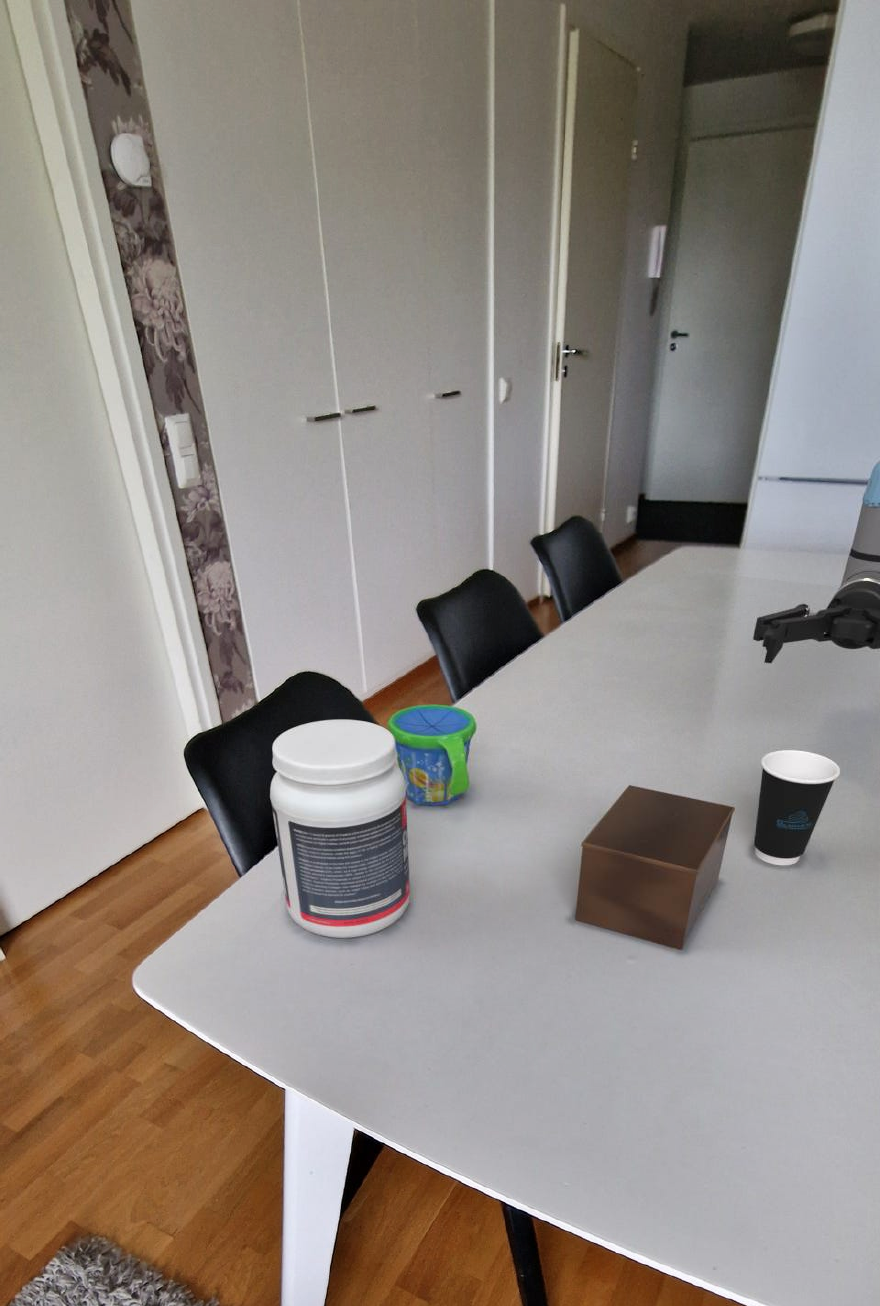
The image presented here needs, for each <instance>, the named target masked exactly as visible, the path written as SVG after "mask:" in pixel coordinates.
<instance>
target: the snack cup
mask: <svg viewBox="0 0 880 1306" xmlns="http://www.w3.org/2000/svg"><path fill="white" fill-rule="evenodd" d="M387 730H388V731H389V732H391V734H392V735H393V736H394V738H395V743H396V751H397V760H396V762H397V766H398V767H399V768H400V770H401V771H402V773H403V776H404V779H405V783H406V799H408V800H410V801H413V802H414V803H415V804H416V805H417V806H421V805H425V806H431V807H434V806H447V805H448V804H449V803H452V802H454V801H456V800H457V799H458V798H460V796H461V795H462V794H463V793H465V792H466V791H467V790H468V789H469V787H470V777H469V772H468V761H469V755H470V746H471V741H472V738H473V736H474V735H475V733H476V731H477V723H476V719H475V717H474V716H473V715H472V714H471V713H470V712H469V711H467V710H465V709H463V708H459V707H456V706H452V705H445V704H419V705H414V706H409V707H406V708H402V709H400V710H398V711H396V712H395V713H394V714H392V716H391V717H390V718H389V720H388V722H387Z"/></svg>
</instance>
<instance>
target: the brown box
mask: <svg viewBox="0 0 880 1306" xmlns="http://www.w3.org/2000/svg"><path fill="white" fill-rule="evenodd" d="M735 809H736V806H730V805H727V804H721V803H716V802H713V801H707V800H702V799H699V798H698V799H697V798H692V797H689V796H683V795H680V794H679V795H678V794H675V793H669V792H665V791H659V790H655V789H650V788H647V787H641V786H637V785H631V784H629V785H628V786H627V787H626V788H625V790H624V791H623V792H622V793H621V794H620V796H619V797H618V798H617V799H616V801H615V802H613V804H612V805H611V807H610V808H609V809H608V810H607V811H606V813H605V814H604V815H603V816H602V817H601V818H600V820H599V821H598V822H597V823H596V825H595V826H594V827H593V828H592V829H591V830H590V832H589V833H588V834H587V836H586V837H585V838H584V839H583V840H582V842H581V843H580V846H581V858H580V860H581V861H580V868H579V878H578V888H577V897H576V907H575V915H574V920H575V921H578V922H582V923H584V924H588V925H592V926H595V927H598V928H602V929H604V930H609V931H613V932H617V933H620V934H623V935H628V936H631V937H634V938H638V939H641V940H644V941H648V942H652V943H655V944H658V945H662V946H666V947H670V948H672V949H676V950H680V951H682V950H683V949H684V947H685V944H686V943H687V941H688V940H689V937H690V936H691V934H692V931H693V930H694V927H695V925H696V924H697V922H698V920H699V918H700V916H701V915H702V913H703V911H704V909H705V907H706V905H707V903H708V901H709V899H710V897H711V895H712V894H713V891H714V889H715V887H716V886H717V884H718V882H719V878H720V872H721V867H722V864H723V859H724V854H725V850H726V845H727V842H728V836H729V832H730V828H731V827H730V826H731V822H732V818H733V814H734V812H735Z"/></svg>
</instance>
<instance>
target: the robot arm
mask: <svg viewBox="0 0 880 1306" xmlns="http://www.w3.org/2000/svg"><path fill="white" fill-rule="evenodd" d="M861 499H862V500H861V501H862V503H861V507H860V511H859V516H858V520H857V523H856V529H855V532H854V537H853V541H852V544H851V547H850V552H849V553H848V554H849V555H848V556H847V560H846V565H845V568H844V573H843V576H842V580H841V583H840V585H839V588H838V589H837V591H836V593H835V594H834V596H833V597H832V598H831V600H830V602H829V603H828V605H827V606H826V608H825V609H819V611H817V612H813V611H811V608H810V607H809V605H808V604H806V603H801V604H800V603H799V604H797V605H796V606H795V607H793V608H789V609H786V610H782V611H777V612H773V613H769V614H766V615H762V616H758V617H757V618H756V622H755V626H754V631H753V637H752V640H753V641H756V642H761V641H762V648H765V650H766V653H765V658H764V662H763V663H765V664H772V663H773V662H774V660H775V659H776V657H777V656H778V654H779V653H780V652H781V651H782V649H783V647H784V644H787V643H793V642H795V643H796V642H802V641H808V640H813V641H816V642H818V643H823V642H829V641H831V642H832V643H833V644H835V645H836V646H837V647H840V648H842V649H846V650H860V649H863V648H866V647H868V648H869V649H871V650H879V649H880V460H879V461H878V462H876V464H875V465H874V466H873V468H872V471H871V473H870V477H869V478H868V482H867V485H866V488H865V491H864V493H863V496H862V498H861Z"/></svg>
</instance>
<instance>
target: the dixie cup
mask: <svg viewBox="0 0 880 1306" xmlns="http://www.w3.org/2000/svg"><path fill="white" fill-rule="evenodd" d="M760 765H761V767H762V772H761V779H760V780H761V781H760V786H759V787H760V789H759V797H758V807H757V814H756V825H755V831H754V842H753V844H754V848H755V850H754V854H755V856H756V857H757V858H758V859H760V860H761V861H763V862H765V863H768V864H770V865H776V866H790V865H794V864H796V863H798V862H799V860H800V859H801V856H802V855H804V853H805V851H806V849H807V846H808V844H809V842H810V839H811V837H812V834H813V832H814V830H815V827H816V825H817V822H818V820H819V818H820V816H821V813H822V811H823V808H824V806H825V804H826V801H827V799H828V797H829V793H830V792H831V789H832V787H833V784H834V782H835V780H836V779H837V778H839V776H840V774H841V768H840V766H839V765H838V763H836V762H835V761H834V760H832V759H830V758H828V757H826V756H824V755H821V754H818V753H815V752H811V751H805V750H797V749H782V750H775V751H771V752H768V753H766V754H765V755H764V756H763V757H762V758H761V760H760Z"/></svg>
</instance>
